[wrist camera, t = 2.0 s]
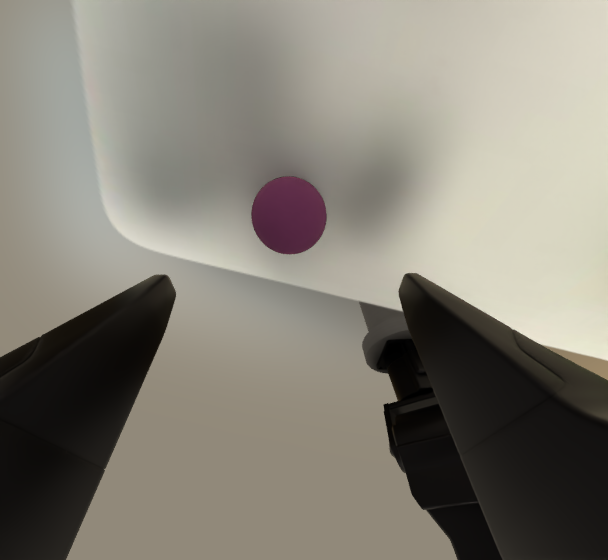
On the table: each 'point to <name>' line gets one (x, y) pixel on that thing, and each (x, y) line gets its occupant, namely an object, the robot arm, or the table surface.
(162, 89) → the table surface
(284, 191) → the ball
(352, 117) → the table surface
